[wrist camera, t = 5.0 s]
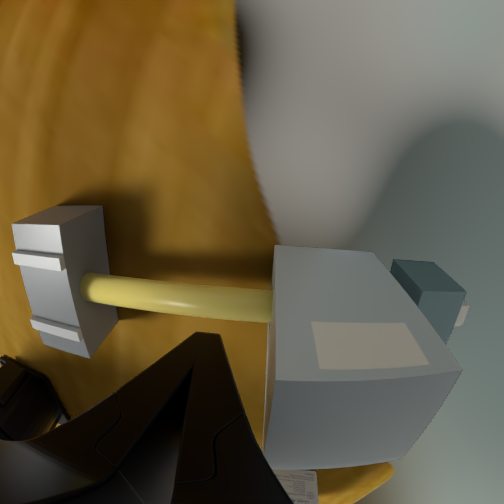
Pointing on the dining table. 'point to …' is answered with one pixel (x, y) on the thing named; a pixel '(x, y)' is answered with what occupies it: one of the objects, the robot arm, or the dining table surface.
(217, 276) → the dining table surface
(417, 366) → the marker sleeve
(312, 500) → the medicine box
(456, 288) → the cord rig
